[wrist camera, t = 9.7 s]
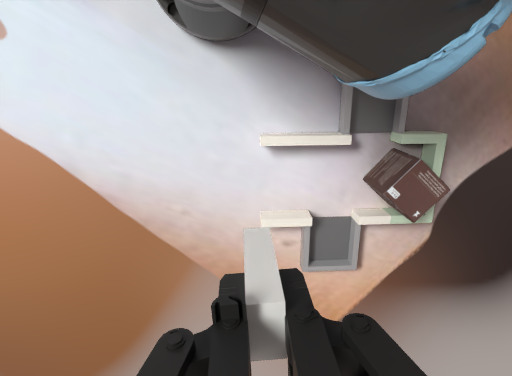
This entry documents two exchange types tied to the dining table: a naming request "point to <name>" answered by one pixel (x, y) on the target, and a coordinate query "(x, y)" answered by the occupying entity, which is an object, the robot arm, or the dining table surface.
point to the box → (406, 184)
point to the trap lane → (348, 228)
